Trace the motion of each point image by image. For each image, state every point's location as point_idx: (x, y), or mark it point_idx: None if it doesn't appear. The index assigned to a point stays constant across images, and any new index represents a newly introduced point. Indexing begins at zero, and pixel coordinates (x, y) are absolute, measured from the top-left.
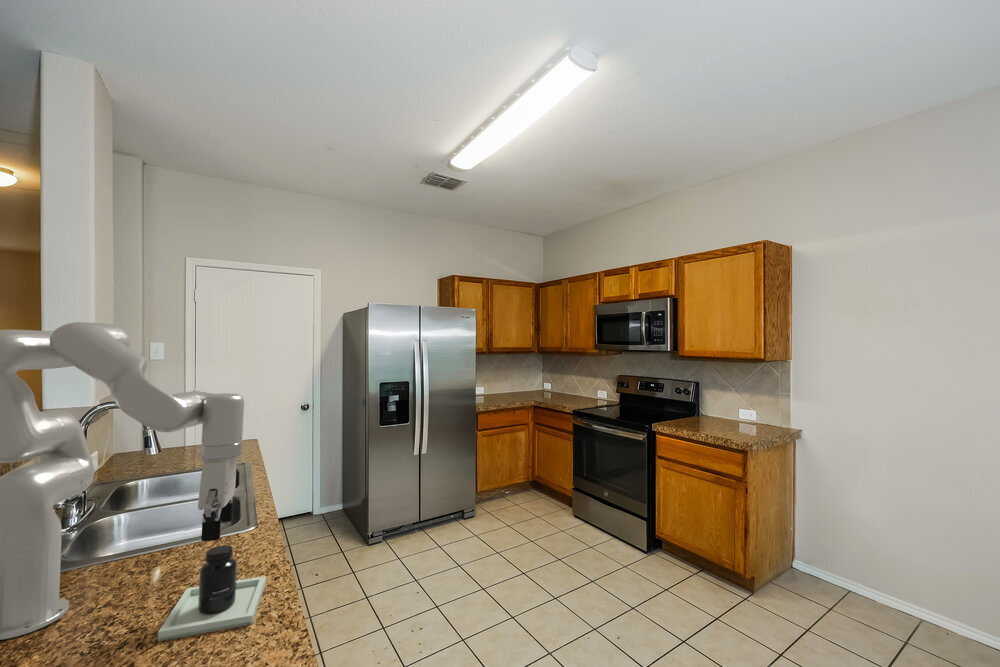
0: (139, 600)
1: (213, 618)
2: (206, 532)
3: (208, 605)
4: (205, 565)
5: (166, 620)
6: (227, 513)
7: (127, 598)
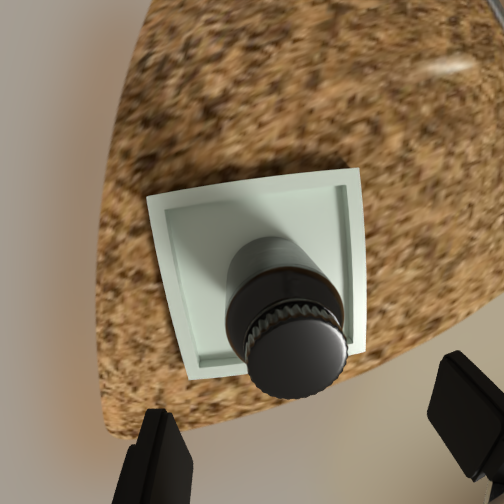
0: (348, 62)
1: (213, 290)
2: (124, 469)
3: (226, 282)
4: (266, 298)
5: (194, 189)
6: (451, 434)
7: (360, 35)
